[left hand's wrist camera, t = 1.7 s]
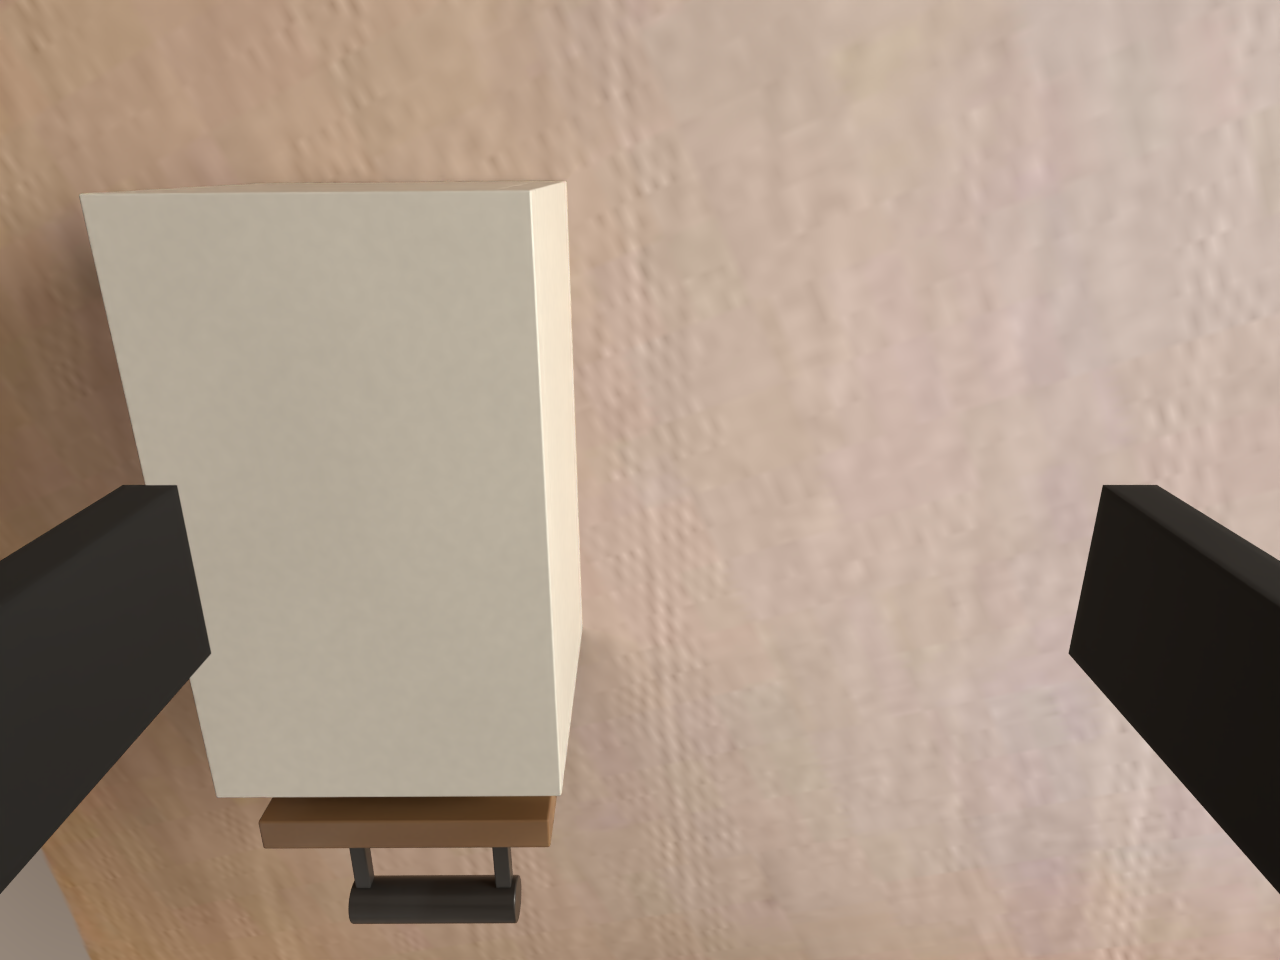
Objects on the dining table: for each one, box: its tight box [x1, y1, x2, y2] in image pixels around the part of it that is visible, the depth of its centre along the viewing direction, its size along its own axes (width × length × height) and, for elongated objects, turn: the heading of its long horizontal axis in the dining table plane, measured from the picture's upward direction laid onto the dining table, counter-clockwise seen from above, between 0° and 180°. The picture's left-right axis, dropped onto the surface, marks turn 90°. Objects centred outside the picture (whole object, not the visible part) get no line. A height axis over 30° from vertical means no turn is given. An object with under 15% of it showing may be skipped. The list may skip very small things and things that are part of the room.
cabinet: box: [79, 181, 582, 798], centre depth 29 cm, size 19×11×11 cm, turn 0°
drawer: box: [259, 796, 557, 924], centre depth 32 cm, size 23×10×9 cm, turn 0°
